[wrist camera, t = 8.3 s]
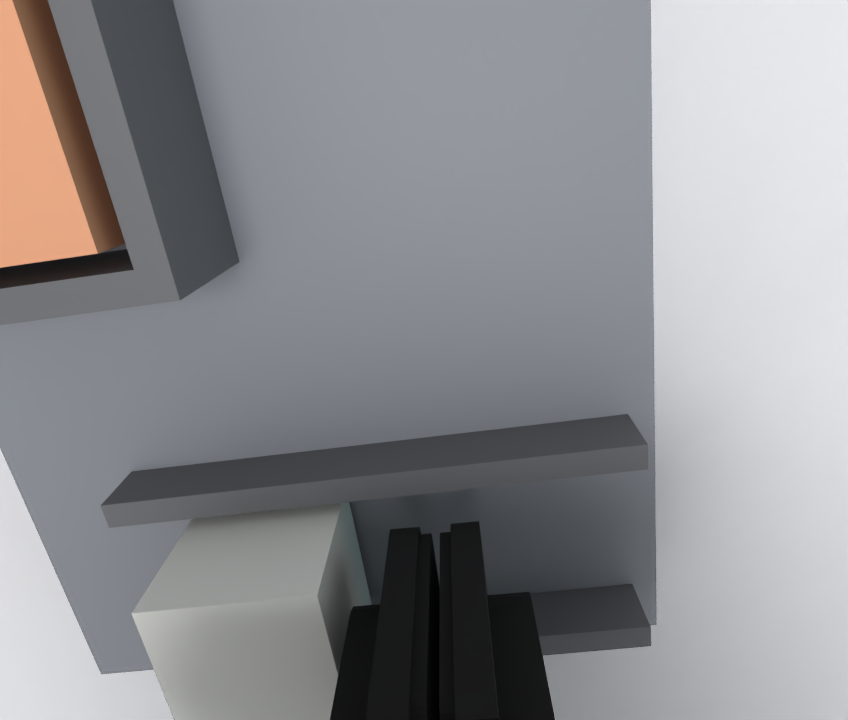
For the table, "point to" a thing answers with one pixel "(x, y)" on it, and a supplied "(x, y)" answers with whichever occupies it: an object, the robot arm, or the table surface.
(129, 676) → the table surface
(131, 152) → the control panel
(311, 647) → the slide switch
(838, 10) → the table surface
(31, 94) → the push button
